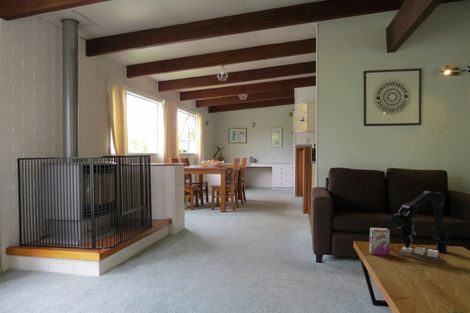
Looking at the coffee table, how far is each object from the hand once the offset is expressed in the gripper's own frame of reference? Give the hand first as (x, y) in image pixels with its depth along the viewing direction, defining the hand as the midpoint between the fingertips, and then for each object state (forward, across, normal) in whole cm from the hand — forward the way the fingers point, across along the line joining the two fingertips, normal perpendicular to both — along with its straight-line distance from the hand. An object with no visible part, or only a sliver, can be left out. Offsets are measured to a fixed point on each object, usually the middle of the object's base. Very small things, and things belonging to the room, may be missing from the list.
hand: (407, 248), depth 196 cm
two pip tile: (+2, 0, +7) cm, 7 cm away
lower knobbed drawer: (+2, 0, +14) cm, 14 cm away
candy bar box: (+4, +11, -14) cm, 18 cm away
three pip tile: (+3, 0, 0) cm, 3 cm away
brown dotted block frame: (+4, 0, +7) cm, 8 cm away
